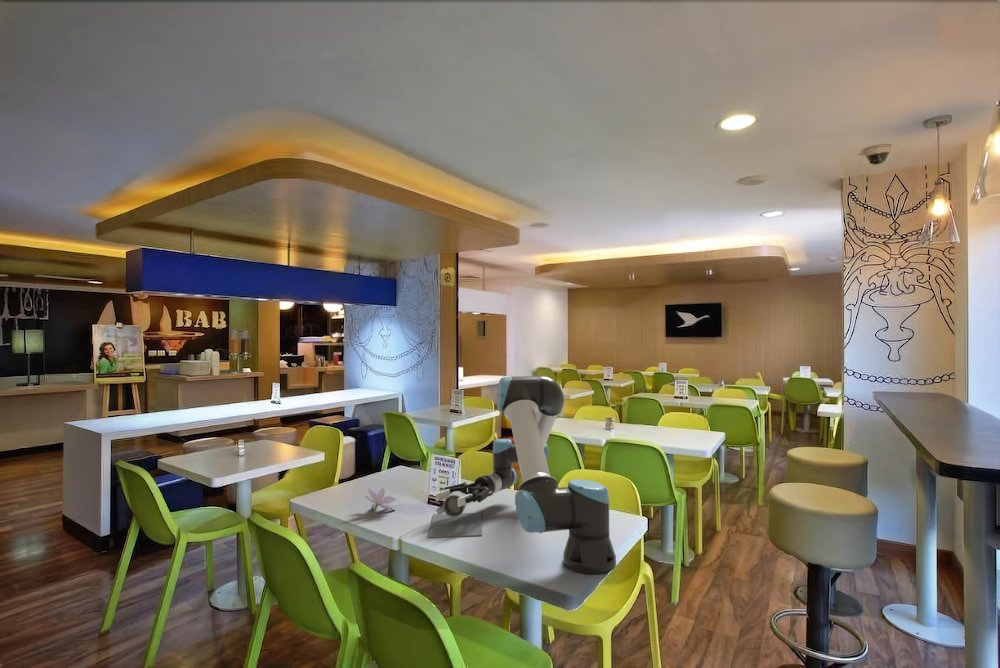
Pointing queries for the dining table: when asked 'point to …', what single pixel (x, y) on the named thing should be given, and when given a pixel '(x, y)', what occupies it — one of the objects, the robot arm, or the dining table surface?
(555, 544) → the dining table surface
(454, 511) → the ceramic mug
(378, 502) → the water lily
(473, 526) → the placemat
